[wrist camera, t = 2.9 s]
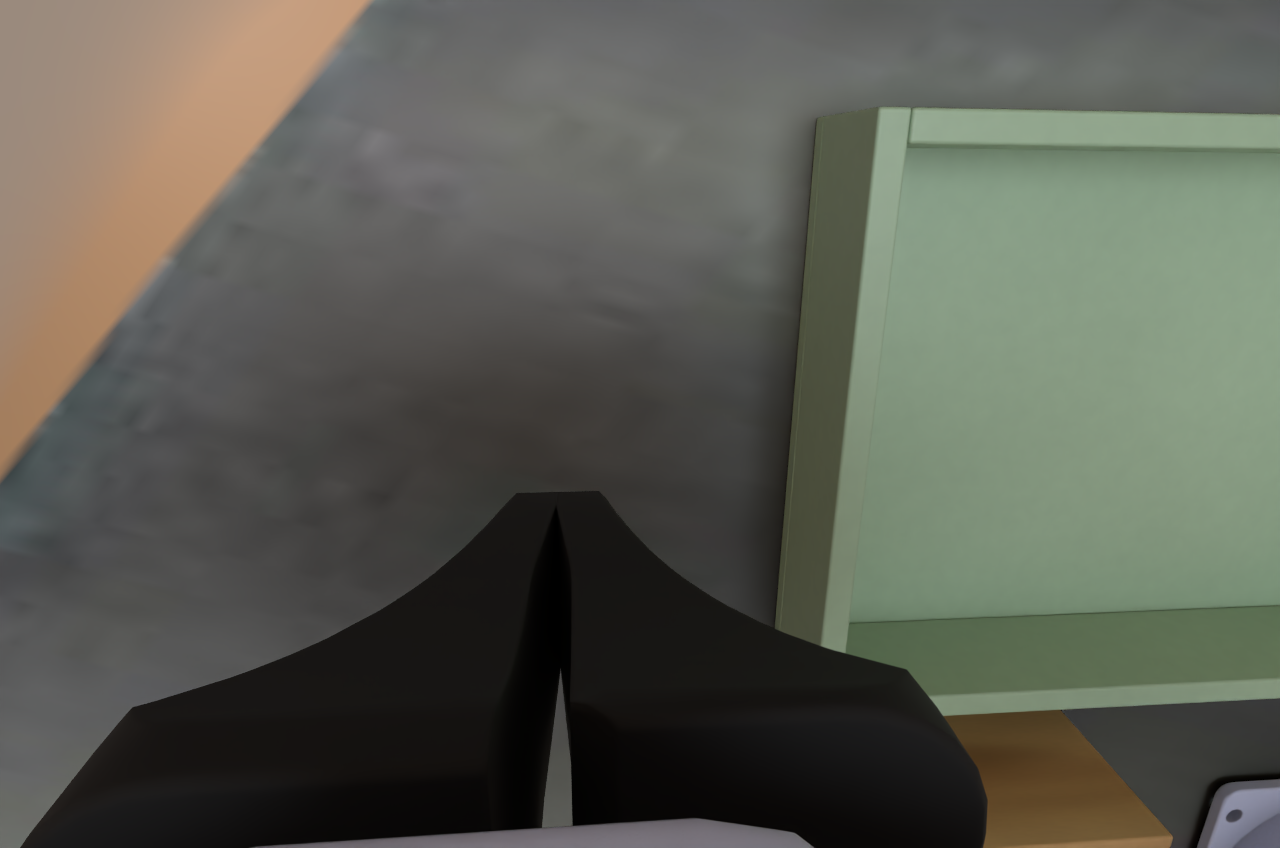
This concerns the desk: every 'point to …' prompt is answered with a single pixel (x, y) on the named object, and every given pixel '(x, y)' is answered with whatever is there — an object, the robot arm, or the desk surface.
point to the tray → (1041, 406)
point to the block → (1052, 785)
